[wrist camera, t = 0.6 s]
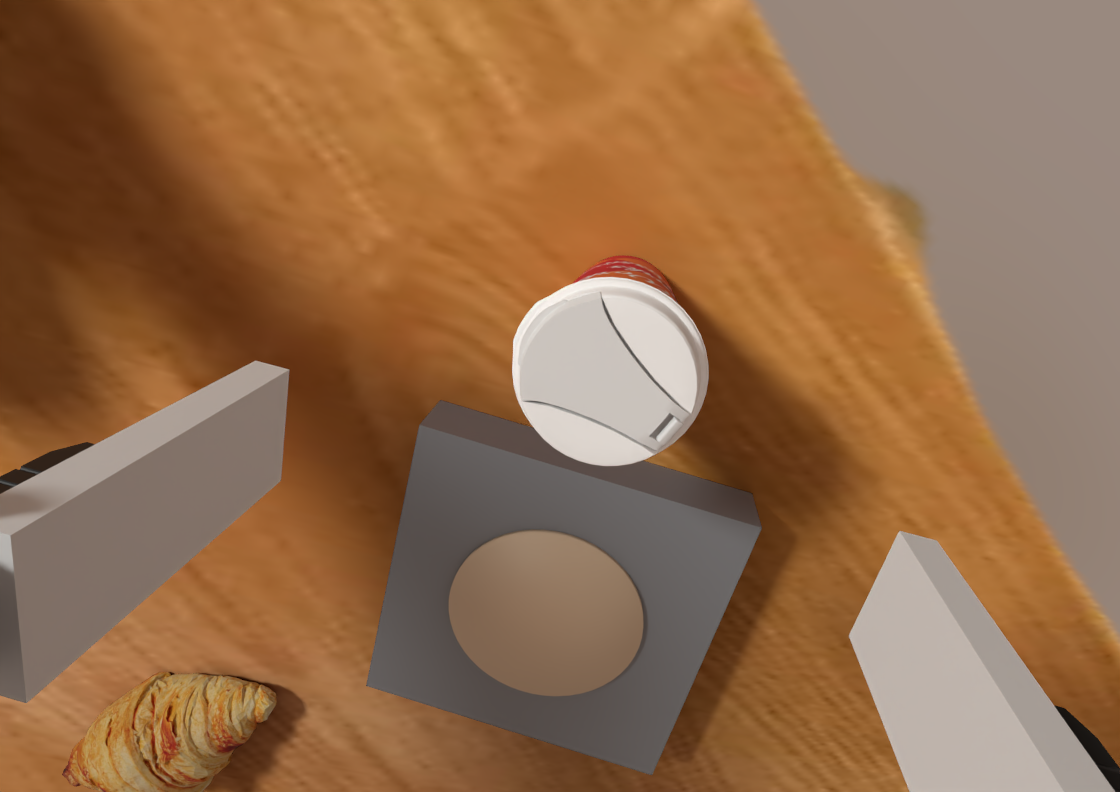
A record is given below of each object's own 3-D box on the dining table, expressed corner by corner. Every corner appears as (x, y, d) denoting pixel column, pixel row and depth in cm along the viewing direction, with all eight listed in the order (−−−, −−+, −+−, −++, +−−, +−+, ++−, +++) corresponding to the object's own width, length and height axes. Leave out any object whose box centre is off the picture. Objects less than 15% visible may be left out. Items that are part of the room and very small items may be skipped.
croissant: (284, 622, 54) (203, 648, 47) (320, 749, 52) (241, 797, 45) (101, 701, 60) (1, 735, 52) (126, 820, 57) (27, 873, 50)
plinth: (388, 644, 49) (363, 690, 45) (440, 400, 42) (417, 427, 38) (652, 727, 48) (651, 780, 44) (752, 493, 41) (762, 531, 37)
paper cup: (720, 292, 37) (756, 370, 24) (634, 393, 40) (624, 513, 27) (608, 204, 36) (582, 236, 23) (527, 314, 39) (464, 398, 26)
